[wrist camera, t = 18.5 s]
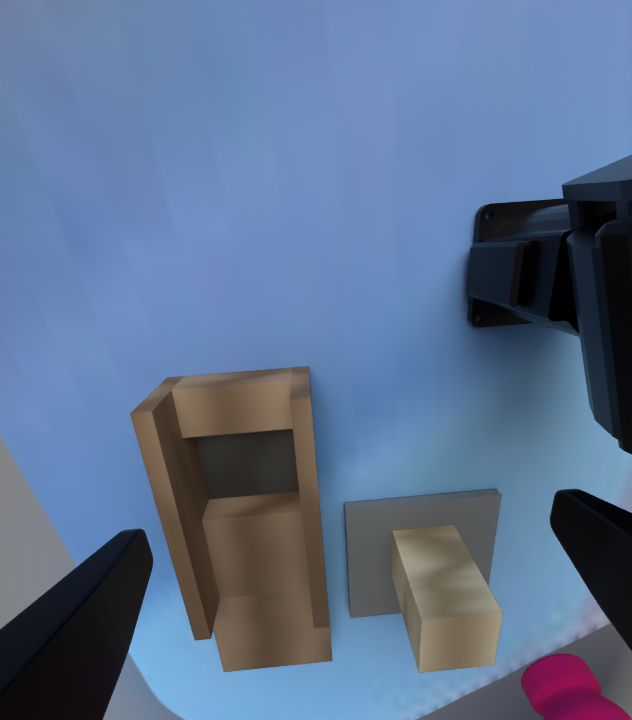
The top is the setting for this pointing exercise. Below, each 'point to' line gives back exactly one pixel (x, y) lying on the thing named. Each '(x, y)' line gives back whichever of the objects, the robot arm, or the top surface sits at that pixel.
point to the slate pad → (380, 517)
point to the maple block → (444, 600)
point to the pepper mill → (567, 691)
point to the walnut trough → (241, 511)
